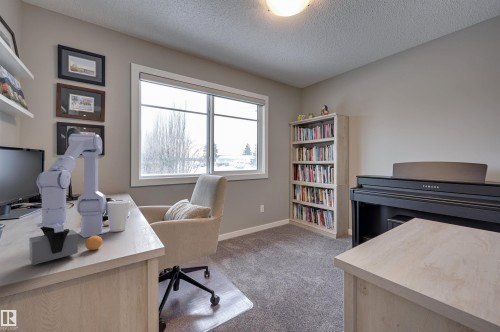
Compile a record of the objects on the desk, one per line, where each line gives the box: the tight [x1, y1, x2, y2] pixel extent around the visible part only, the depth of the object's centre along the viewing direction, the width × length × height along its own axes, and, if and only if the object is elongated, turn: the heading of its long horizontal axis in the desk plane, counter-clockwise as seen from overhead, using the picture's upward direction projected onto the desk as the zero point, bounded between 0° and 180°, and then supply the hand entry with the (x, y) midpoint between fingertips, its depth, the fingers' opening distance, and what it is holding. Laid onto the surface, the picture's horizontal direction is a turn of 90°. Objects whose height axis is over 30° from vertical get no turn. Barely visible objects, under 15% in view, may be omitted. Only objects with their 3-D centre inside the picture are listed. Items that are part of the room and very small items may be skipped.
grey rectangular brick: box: [28, 229, 79, 266], centre depth 68 cm, size 6×11×7 cm, turn 141°
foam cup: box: [106, 200, 132, 233], centre depth 99 cm, size 10×9×13 cm
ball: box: [84, 235, 103, 251], centre depth 77 cm, size 5×5×5 cm
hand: (54, 249), depth 68 cm, fingers closed on grey rectangular brick, 6 cm apart
